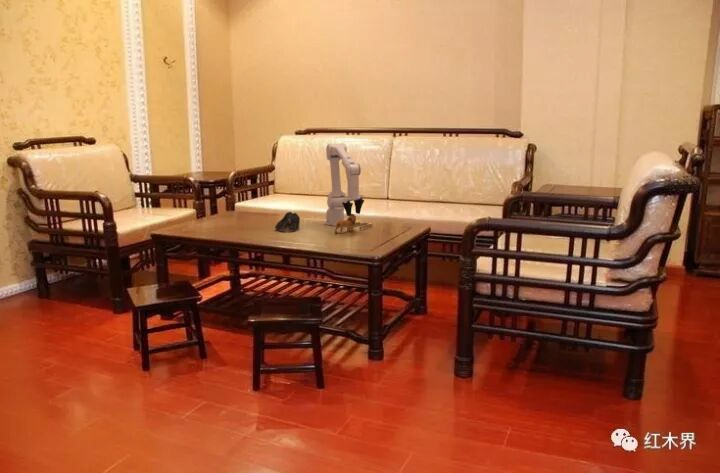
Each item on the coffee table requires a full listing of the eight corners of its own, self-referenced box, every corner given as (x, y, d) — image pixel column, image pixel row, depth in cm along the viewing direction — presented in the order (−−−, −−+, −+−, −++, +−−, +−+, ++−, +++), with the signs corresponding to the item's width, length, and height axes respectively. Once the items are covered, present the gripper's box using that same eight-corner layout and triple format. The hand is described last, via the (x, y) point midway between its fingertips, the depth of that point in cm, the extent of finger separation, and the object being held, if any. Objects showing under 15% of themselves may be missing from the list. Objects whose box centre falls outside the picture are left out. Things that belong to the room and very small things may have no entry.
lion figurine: (351, 229, 309) (351, 212, 307) (358, 230, 305) (358, 213, 303) (331, 234, 298) (331, 216, 296) (339, 235, 295) (338, 218, 293)
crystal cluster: (276, 234, 301) (277, 216, 298) (273, 227, 313) (274, 209, 310) (302, 235, 305) (303, 216, 302) (297, 227, 317) (298, 209, 314)
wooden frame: (347, 228, 311) (347, 224, 310) (359, 225, 318) (359, 221, 318) (361, 230, 305) (361, 226, 305) (372, 227, 313) (372, 223, 312)
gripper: (350, 190, 285) (350, 217, 288) (368, 187, 296) (368, 213, 299) (339, 189, 289) (339, 216, 292) (357, 185, 300) (357, 211, 303)
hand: (353, 214), depth 296 cm, fingers open, 7 cm apart
